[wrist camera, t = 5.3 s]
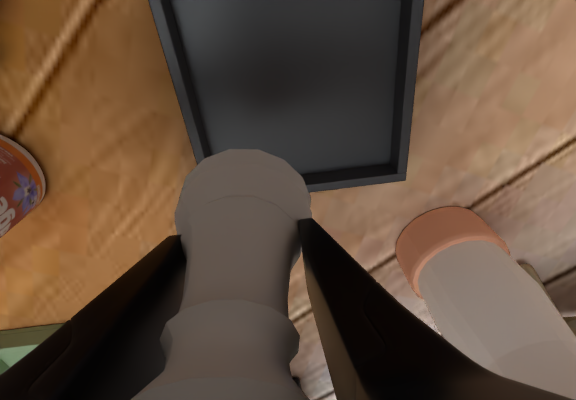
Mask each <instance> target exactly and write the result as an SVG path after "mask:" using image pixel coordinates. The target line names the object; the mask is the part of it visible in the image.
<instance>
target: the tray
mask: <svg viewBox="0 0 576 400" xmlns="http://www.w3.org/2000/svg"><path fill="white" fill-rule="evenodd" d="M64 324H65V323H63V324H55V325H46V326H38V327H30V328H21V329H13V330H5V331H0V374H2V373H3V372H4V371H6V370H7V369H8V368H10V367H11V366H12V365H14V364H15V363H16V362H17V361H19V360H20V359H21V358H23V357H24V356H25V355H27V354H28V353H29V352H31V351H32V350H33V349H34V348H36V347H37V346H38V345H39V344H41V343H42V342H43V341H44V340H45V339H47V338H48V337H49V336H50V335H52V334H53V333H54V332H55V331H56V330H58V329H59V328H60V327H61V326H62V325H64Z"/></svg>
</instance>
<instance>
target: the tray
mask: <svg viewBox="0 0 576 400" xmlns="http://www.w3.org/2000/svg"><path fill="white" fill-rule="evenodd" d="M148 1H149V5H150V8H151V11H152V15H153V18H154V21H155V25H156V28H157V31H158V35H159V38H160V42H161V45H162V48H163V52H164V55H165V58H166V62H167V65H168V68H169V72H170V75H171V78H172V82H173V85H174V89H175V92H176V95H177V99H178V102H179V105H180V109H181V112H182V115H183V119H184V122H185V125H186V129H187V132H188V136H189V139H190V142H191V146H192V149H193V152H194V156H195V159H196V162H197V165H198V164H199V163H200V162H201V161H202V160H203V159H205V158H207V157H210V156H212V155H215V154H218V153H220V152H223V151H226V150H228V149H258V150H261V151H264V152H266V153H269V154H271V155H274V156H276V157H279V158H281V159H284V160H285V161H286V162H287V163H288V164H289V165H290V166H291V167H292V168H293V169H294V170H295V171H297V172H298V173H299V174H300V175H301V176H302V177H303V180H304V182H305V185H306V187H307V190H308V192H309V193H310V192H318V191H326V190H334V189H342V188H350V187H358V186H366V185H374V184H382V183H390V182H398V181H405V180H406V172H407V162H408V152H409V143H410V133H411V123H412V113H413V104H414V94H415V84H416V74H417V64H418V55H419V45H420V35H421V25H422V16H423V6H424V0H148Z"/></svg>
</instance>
